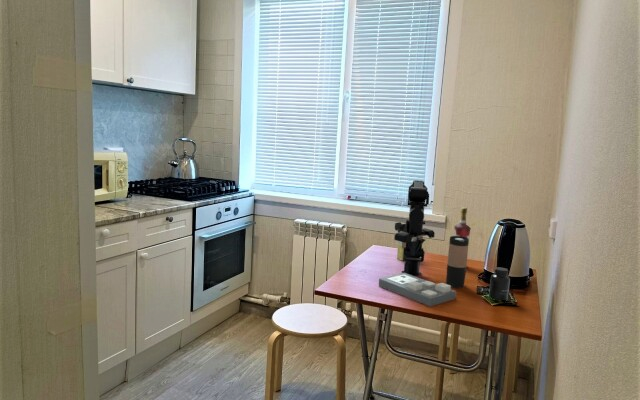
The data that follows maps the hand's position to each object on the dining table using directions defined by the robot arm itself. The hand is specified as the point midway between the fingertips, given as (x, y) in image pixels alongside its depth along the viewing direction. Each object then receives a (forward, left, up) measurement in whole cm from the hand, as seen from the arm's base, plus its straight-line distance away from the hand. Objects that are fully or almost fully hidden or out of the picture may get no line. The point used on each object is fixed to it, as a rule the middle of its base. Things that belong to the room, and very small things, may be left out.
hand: (413, 255), depth 192 cm
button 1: (+11, +11, -10) cm, 18 cm away
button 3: (+11, +18, -11) cm, 24 cm away
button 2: (+3, +11, -11) cm, 16 cm away
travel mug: (-14, +11, -12) cm, 22 cm away
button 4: (+3, +18, -10) cm, 21 cm away
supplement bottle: (-15, +30, -12) cm, 36 cm away
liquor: (-39, -5, -12) cm, 41 cm away
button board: (+7, +8, -12) cm, 16 cm away
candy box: (-26, -26, -12) cm, 39 cm away
